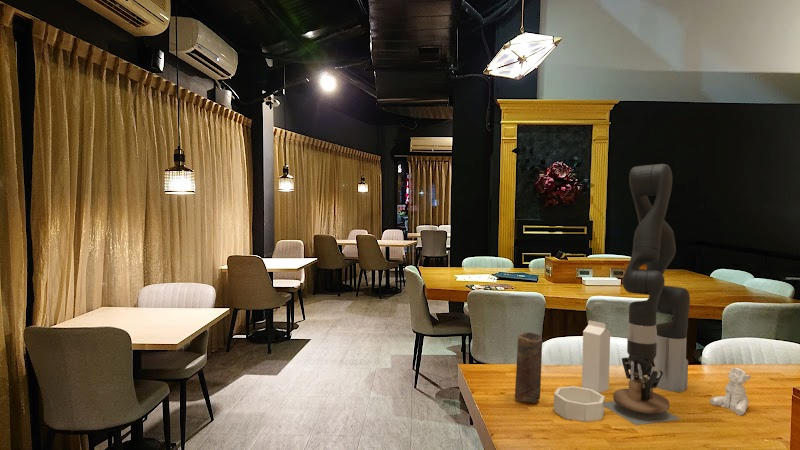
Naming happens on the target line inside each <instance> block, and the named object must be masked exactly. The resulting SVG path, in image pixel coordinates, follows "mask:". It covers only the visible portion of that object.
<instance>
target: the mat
mask: <svg viewBox="0 0 800 450" xmlns="http://www.w3.org/2000/svg"><path fill="white" fill-rule="evenodd" d="M604 408H607V409H609V410H610V411H612V412H614V413H615V414H616V415H618V416H620V417H622V418H623V419H625V420H627V421H628V422H629V423H632V424H633V425H635V426H639V425H648V424H656V423H665V422H670V421H679V420H681V418H680V417H678V416H676V415H674V414H672V413H671V412H668V410H667V411H665V412H662V413H643V412H638V411H633V410H630V409H627V408H624V407H622V406H620V405H618V404H617V403H616V402H615V401H614V400H612V401H605V403H604Z"/></svg>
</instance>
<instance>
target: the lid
mask: <svg viewBox="0 0 800 450" xmlns="http://www.w3.org/2000/svg"><path fill="white" fill-rule="evenodd" d="M646 384H647V380H646ZM641 388H642V385H641V380H640V379H637V380H630V379H628V388H621V389H617V390H615V391H614V392H613V393H612V394H613V401H615V402H616V403H617V404H618V405H620V406H622V407H624V408H627V409H630V410H633V411H638V412H643V413H662V412H665V411H667V412H668V410H669V409H670V401H669V399H667V398H666V397H665V396H663V395H661V394H660V393H656V392H654V388H651V389H650V399H649V400H648V401H642V400H641Z"/></svg>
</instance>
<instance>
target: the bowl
mask: <svg viewBox="0 0 800 450" xmlns="http://www.w3.org/2000/svg"><path fill="white" fill-rule="evenodd" d="M553 394H554V395H553V411H554V412H555V413H556V414H557V415H559V416H560V417H562V418H563V419H566V420H570V421H573V420H575V421H579V422H593V421H594V422H595V421H601V420H603V417H604V414H605V406H604V403H605V402H606V400H605V397H606V396H605V395H603V394H601V393H598V392H596V391H594V390H592V389H587V388H582V386H581V387H580V386H574V385H572V386H562V387H561V386H560V387H557V388H556V390H555V391H554V393H553Z"/></svg>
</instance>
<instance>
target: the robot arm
mask: <svg viewBox="0 0 800 450" xmlns="http://www.w3.org/2000/svg"><path fill="white" fill-rule="evenodd" d="M628 175H629V176H628V181H629V188H630V192H631V196H632V200H633V203H634V207H635V208H634V209H635V211H636V215H637V220H638V225H637V227H636V228H635V231H634V236H633V242H632V252H631V256H630V260H629V262H628V265H627V267H626V269H625V272H624V274H623V277H622V281H621V282H622V287H623V288H624V290H625V291H626V292H627V293H629V294H635V295H636V294H638V295H646V296H647V295H648V298H647V299H645V300H639V301H633V302H631V303H629V306H628V326H627V341H626V342H627V343H626V344H627V345H626V346H627V347H626V348H627V349H626V353H627V354H628V357H622V358H621V362H622V366H623V370H624V374H625V377H626V379H628V380H637V379H640V380H641V385H642V388H641V400H642V401H648V400H649V399H650V389H651V388H653V389H656V388H657V389H659V390H663V391H668V392H674V393H682V392H684V391H685V390H688V380H689V379H688V378H689V377H688V376H689V360H688V359H687V358H686V357H687V334H688V327H689V314H690V303H691V297H690V292H689V291H688V289H686V288H684V287H680V286H679V287H678V286H671V285H665V283H666V282H665V277H664V274H665V272H666V270H667V268H668V267H669V265H670V264H671V263H672V261H673V259H674V258H675V255H676V252H677V247H676V240H675V234H674V230H673V229H672V227H671V226H670V225H669V224H668V222H667V221H666V220H665V219H666V218H665V217H666V214H667V210H668V207H669V206H668V205H669V201H670V198H671V193H672V187H673V173H672V169H671V167H670V166H669V164H665V163H657V164H656V163H655V164H648V165H647V164H645V165H638V166H633V167H632V168H630V171H629V174H628ZM649 196H655V199H654V201H653V205H652V203H651V202H650V199H649ZM643 265H645V266H646V267H645V268H646V269H640V268H641V267H642V266H643ZM658 313H659V314H662V315H663V314H664V315H668V316H673V318H672V320H670V321H667V322H663V323H661V322H660V323H658V324H657V314H658ZM646 380H647V384H646Z"/></svg>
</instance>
